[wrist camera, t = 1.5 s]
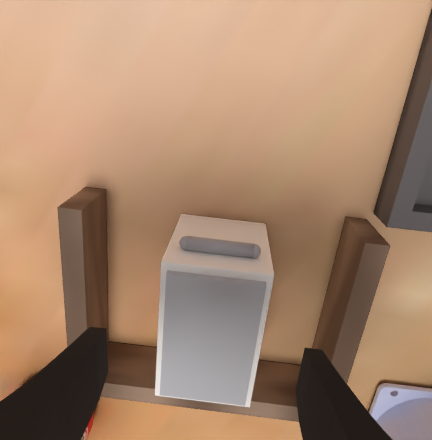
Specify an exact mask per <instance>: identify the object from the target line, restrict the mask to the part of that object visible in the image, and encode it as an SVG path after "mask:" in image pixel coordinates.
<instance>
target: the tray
mask: <svg viewBox="0 0 432 440" xmlns="http://www.w3.org/2000/svg"><path fill="white" fill-rule="evenodd" d="M374 214H375V215H376V216H377V217H378V218H379V219H380V220H381V221H382V223H383V224H384V225H385V226H386V227H391V228H400V229H408V230H417V231H426V232H432V10H431V13H430V17H429V21H428V24H427V28H426V31H425V35H424V38H423V42H422V45H421V49H420V52H419V56H418V59H417V63H416V66H415V70H414V73H413V77H412V80H411V84H410V87H409V91H408V94H407V98H406V101H405V105H404V108H403V112H402V115H401V119H400V122H399V126H398V129H397V133H396V137H395V140H394V144H393V147H392V151H391V154H390V158H389V161H388V165H387V168H386V172H385V175H384V179H383V182H382V186H381V189H380V193H379V196H378V200H377V203H376V207H375V210H374Z"/></svg>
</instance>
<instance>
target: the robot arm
mask: <svg viewBox="0 0 432 440" xmlns="http://www.w3.org/2000/svg"><path fill="white" fill-rule="evenodd" d="M107 374H108V351H107V328H97V327H89V328H88V329H86V330H85V331H84V332H83V333H82V334H81V335H80V336H79V337H78V338H77V339H76V340H75V341H74V342H72V343H71V344H70V345H69V346H68V347H67V348H66V349H65V350H64V351H63V352H62V353H60V354H59V355H58V356H57V357H56V358H55V359H54V360H52V361H51V362H50V363H49V364H48V365H47V366H46V367H44V368H43V369H42V370H41V371H40V372H38V373H37V374H36V375H35V376H33V377H32V378H31V379H30V380H28V381H27V382H26V383H25V384H23V385H22V386H21V387H20V388H18V389H17V390H16V391H14V392H13V393H11V394H10V395H9V396H7V397H6V398H5V399H3V400H2V401H0V440H81V439H82V437H83V435H84V432H85V430H86V428H87V426H88V424H89V422H90V419H91V417H92V415H93V413H94V410H95V408H96V406H97V404H98V401H99V399H100V396H101V393H102V390H103V387H104V384H105V381H106V377H107ZM295 391H296V401H297V410H298V418H299V423H300V428H301V433H302V437H303V440H432V389H430V388H422V387H414V386H406V385H398V384H390V383H383V384H381V385H379V387H378V389H377V391H376V394H375V397H374V400H373V402H372V405H371V408H370V411H369V412H368V411H367V410H366V408H365V407H364V406H363V405H362V404H361V402H360V401H359V400H358V398H357V397H356V396H355V394H354V393H353V392H352V391H351V389H350V388H349V387H348V385H347V384H346V383H345V381H344V380H343V378H342V377H341V376H340V374H339V373H338V371H337V370H336V369H335V367H334V366H333V364H332V363H331V361H330V360H329V359H328V357H327V356H326V354H325V353H324V352H323V350H321V349H311V348H305V350H304V355H303V359H302V363H301V368H300V372H299V377H298V381H297V385H296V390H295ZM392 391H393V392H392Z"/></svg>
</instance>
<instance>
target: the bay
mask: <svg viewBox="0 0 432 440" xmlns="http://www.w3.org/2000/svg"><path fill="white" fill-rule="evenodd" d="M58 220H59V234H60V248H61V262H62V276H63V290H64V304H65V319H66V333H67V347H68V346H69V345H70V344H71V343H72V342H74V341H75V340H76V339H77V338H78V337H79V336H80V335H81V334H82V333H83V332H84V331H85V330H86V329H88V328H89V327H97V328H107V351H108V374H107V377H106V381H105V384H104V387H103V390H102V393H101V396H100V397H106V398H114V399H122V400H130V401H138V402H146V403H154V404H162V405H170V406H178V407H186V408H194V409H201V410H209V411H217V412H225V413H233V414H241V415H249V416H257V417H265V418H273V419H281V420H289V421H297V422H299V418H298V410H297V401H296V391H295V390H296V385H297V381H298V377H299V372H300V368H301V365H294V364H286V363H278V362H270V361H262V360H258V365H257V371H256V376H255V382H254V387H253V392H252V398H251V403H250V407H243V406H235V405H227V404H219V403H211V402H203V401H195V400H187V399H179V398H171V397H164V396H156V395H155V382H156V361H157V348H156V347H148V346H140V345H132V344H123V343H115V342H109V341H108V281H107V221H106V189H98V188H89V187H85V188H84V189H82V190H81V191H80V192H78V193H77V194H75V195H74V196H73V197H71V198H70V199H68V200H67V201H66V202H64V203H63V204H62V205H60V206H59V207H58ZM389 248H390V245H389V244H388V243H387V242H386V241H385V239H384V238H383V237H382V236H381V235H380V234H379V233H378V232H377V230H376V229H375V228H374V227H373V226H372V225H371V224H370V223H369V221H368V220H367V219H360V218H351V217H346V218H345V222H344V226H343V230H342V234H341V237H340V241H339V245H338V249H337V253H336V257H335V261H334V265H333V269H332V273H331V277H330V281H329V285H328V289H327V293H326V296H325V300H324V304H323V308H322V312H321V316H320V320H319V324H318V328H317V332H316V336H315V340H314V344H313V348H312V349H321V350H323V352H324V353H325V354H326V356H327V357H328V359H329V360H330V361H331V363H332V364H333V366H334V367H335V369H336V370H337V371H338V373H339V374H340V376H341V377H342V378H343V380H344V381H345V383H346V384H347V382H348V378H349V375H350V372H351V369H352V366H353V362H354V359H355V356H356V353H357V350H358V347H359V343H360V340H361V337H362V334H363V331H364V327H365V324H366V321H367V318H368V315H369V312H370V308H371V305H372V302H373V299H374V296H375V293H376V289H377V286H378V283H379V280H380V277H381V273H382V270H383V267H384V264H385V261H386V258H387V254H388V251H389Z"/></svg>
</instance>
